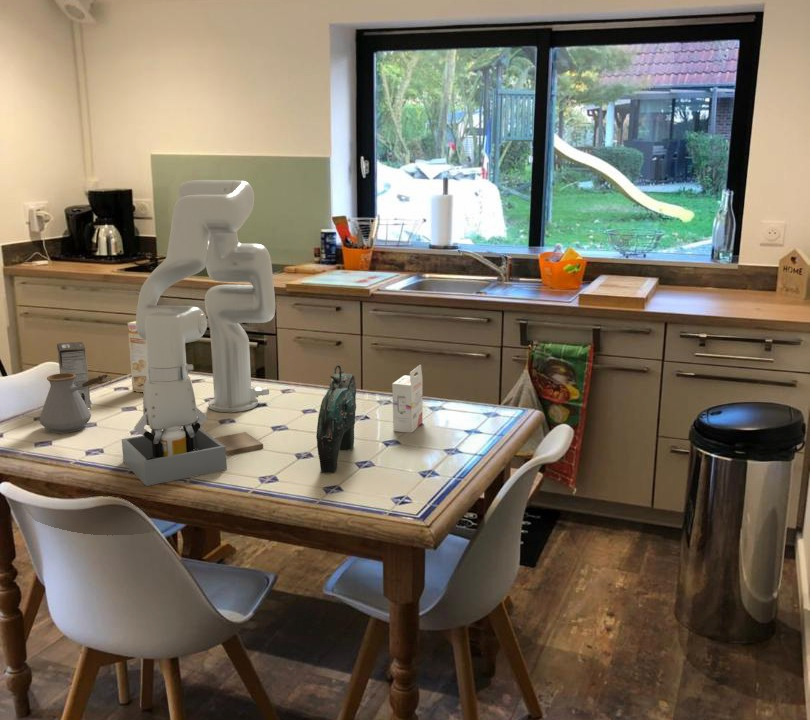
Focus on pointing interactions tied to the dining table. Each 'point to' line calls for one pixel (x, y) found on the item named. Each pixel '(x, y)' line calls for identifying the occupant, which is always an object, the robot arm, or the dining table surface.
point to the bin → (174, 459)
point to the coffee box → (75, 365)
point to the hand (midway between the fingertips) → (173, 456)
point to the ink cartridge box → (407, 402)
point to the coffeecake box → (137, 358)
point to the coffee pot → (66, 404)
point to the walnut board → (239, 443)
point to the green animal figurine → (336, 420)
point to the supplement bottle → (173, 441)
